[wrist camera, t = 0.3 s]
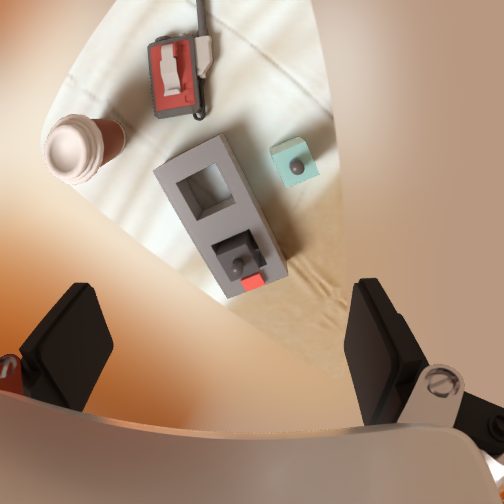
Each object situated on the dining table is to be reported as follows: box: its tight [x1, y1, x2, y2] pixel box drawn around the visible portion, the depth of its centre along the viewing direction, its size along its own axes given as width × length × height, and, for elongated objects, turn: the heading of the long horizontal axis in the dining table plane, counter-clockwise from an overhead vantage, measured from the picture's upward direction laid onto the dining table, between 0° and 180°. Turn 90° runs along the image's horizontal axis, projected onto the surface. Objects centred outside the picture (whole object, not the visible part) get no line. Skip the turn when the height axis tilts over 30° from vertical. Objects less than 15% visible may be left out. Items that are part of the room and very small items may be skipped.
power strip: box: [153, 133, 288, 299], centre depth 41 cm, size 22×10×9 cm, turn 25°
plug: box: [270, 136, 319, 188], centre depth 37 cm, size 4×4×9 cm
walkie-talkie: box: [148, 0, 213, 121], centre depth 33 cm, size 9×4×20 cm
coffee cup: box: [44, 114, 126, 185], centre depth 35 cm, size 9×9×12 cm
